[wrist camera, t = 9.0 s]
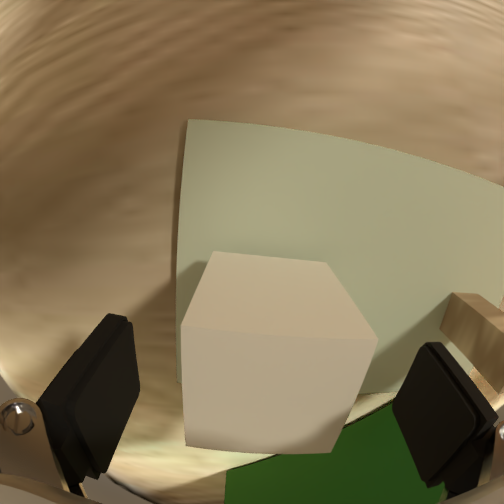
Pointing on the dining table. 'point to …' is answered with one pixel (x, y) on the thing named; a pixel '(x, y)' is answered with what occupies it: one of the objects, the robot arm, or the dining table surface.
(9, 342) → the dining table surface
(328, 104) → the dining table surface
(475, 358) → the post
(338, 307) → the beige foam cube
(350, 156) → the mat
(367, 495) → the hardback book
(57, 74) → the dining table surface
